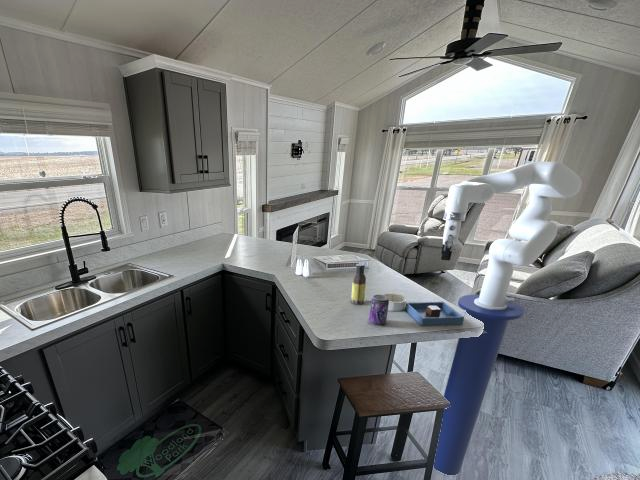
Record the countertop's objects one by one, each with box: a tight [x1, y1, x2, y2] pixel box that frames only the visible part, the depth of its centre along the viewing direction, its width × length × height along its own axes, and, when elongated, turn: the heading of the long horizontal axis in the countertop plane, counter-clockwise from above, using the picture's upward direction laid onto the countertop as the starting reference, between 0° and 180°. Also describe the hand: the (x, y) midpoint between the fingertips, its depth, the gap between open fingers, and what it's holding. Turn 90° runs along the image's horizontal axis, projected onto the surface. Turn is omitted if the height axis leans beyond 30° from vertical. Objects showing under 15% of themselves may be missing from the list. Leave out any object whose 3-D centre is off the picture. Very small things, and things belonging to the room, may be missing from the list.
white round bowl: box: [382, 293, 407, 312], centre depth 158 cm, size 11×11×4 cm
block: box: [426, 306, 441, 317], centre depth 146 cm, size 4×4×4 cm
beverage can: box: [368, 294, 389, 326], centre depth 142 cm, size 7×7×12 cm
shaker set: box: [295, 258, 314, 279], centre depth 202 cm, size 12×4×11 cm, turn 32°
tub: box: [404, 301, 465, 326], centre depth 147 cm, size 17×16×4 cm
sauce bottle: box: [350, 262, 367, 305], centre depth 161 cm, size 6×6×20 cm
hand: (445, 257), depth 139 cm, fingers open, 9 cm apart
